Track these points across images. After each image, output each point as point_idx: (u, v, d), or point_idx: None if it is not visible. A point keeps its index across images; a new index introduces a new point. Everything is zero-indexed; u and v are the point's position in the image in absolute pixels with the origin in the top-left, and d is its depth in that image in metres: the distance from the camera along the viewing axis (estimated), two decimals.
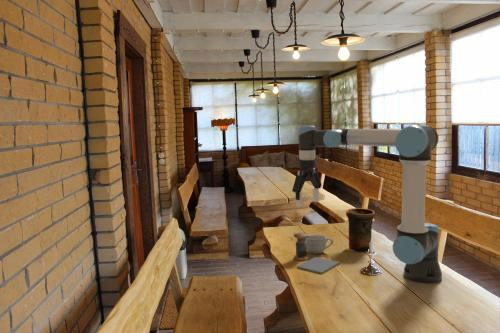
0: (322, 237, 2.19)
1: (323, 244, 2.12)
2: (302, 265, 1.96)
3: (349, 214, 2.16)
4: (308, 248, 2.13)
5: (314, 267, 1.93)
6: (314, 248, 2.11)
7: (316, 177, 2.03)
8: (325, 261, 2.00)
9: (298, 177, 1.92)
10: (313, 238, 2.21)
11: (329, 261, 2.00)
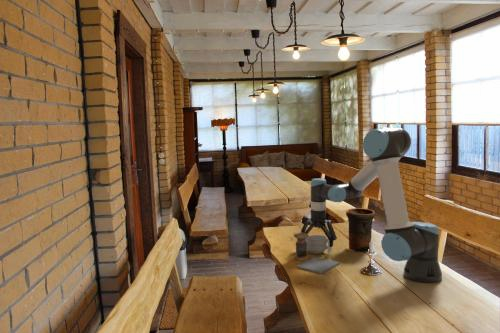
0: (322, 237, 2.19)
1: (324, 244, 2.12)
2: (302, 265, 1.96)
3: (349, 214, 2.16)
4: (309, 248, 2.13)
5: (314, 267, 1.93)
6: (315, 248, 2.11)
7: None
8: (325, 261, 2.00)
9: None
10: (313, 238, 2.21)
11: (329, 261, 2.00)
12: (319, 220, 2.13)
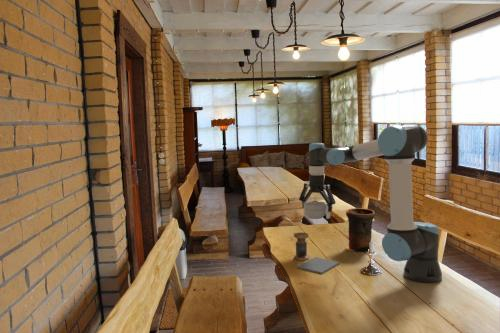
0: (321, 203, 2.16)
1: (322, 209, 2.10)
2: (302, 265, 1.96)
3: (349, 214, 2.16)
4: (307, 213, 2.11)
5: (314, 267, 1.93)
6: (313, 213, 2.09)
7: None
8: (325, 261, 2.00)
9: None
10: (312, 205, 2.19)
11: (329, 261, 2.00)
12: (318, 185, 2.11)
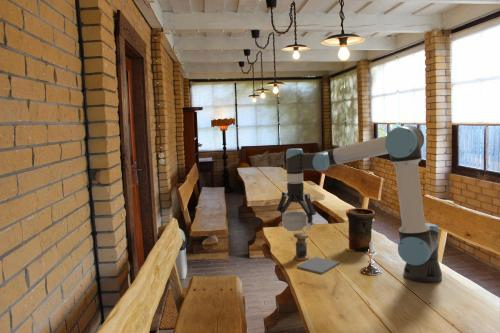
0: (301, 213, 2.00)
1: (302, 220, 1.93)
2: (302, 265, 1.96)
3: (349, 214, 2.16)
4: (286, 225, 1.94)
5: (314, 267, 1.93)
6: (292, 225, 1.92)
7: None
8: (325, 261, 2.00)
9: None
10: (292, 215, 2.02)
11: (329, 261, 2.00)
12: (296, 194, 1.94)
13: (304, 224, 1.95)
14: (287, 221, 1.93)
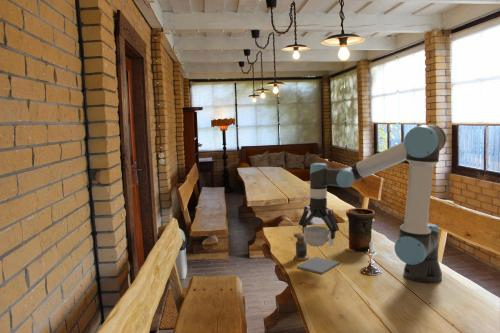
0: (323, 228, 1.98)
1: (325, 236, 1.91)
2: (302, 265, 1.96)
3: (349, 214, 2.16)
4: (308, 240, 1.92)
5: (314, 267, 1.93)
6: (315, 240, 1.90)
7: None
8: (325, 261, 2.00)
9: None
10: (313, 230, 2.00)
11: (329, 261, 2.00)
12: (319, 209, 1.92)
13: (326, 239, 1.93)
14: (310, 236, 1.91)
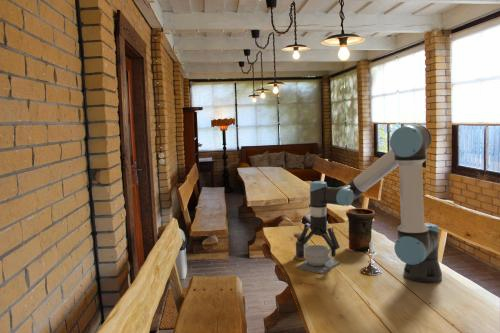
0: (323, 247, 1.99)
1: (325, 256, 1.92)
2: (302, 265, 1.96)
3: (349, 214, 2.16)
4: (308, 260, 1.93)
5: (314, 267, 1.93)
6: (315, 260, 1.91)
7: None
8: None
9: None
10: (314, 248, 2.01)
11: (329, 261, 2.00)
12: (319, 227, 1.93)
13: (327, 259, 1.94)
14: (310, 256, 1.92)
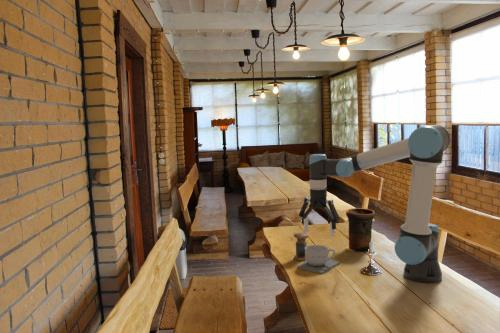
0: (323, 247, 1.99)
1: (325, 256, 1.92)
2: (302, 265, 1.96)
3: (349, 214, 2.16)
4: (308, 260, 1.93)
5: (314, 267, 1.93)
6: (315, 260, 1.91)
7: None
8: None
9: None
10: (314, 248, 2.01)
11: (329, 261, 2.00)
12: (319, 200, 1.92)
13: (327, 259, 1.94)
14: (310, 256, 1.92)
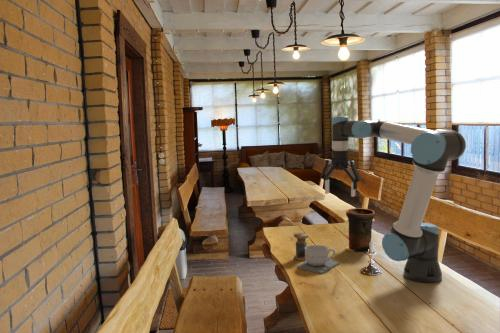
0: (323, 247, 1.99)
1: (325, 255, 1.92)
2: (302, 265, 1.96)
3: (349, 214, 2.16)
4: (308, 260, 1.93)
5: (314, 267, 1.93)
6: (315, 260, 1.91)
7: None
8: None
9: None
10: (313, 248, 2.01)
11: (329, 261, 2.00)
12: (341, 161, 1.97)
13: (327, 259, 1.94)
14: (310, 256, 1.92)
